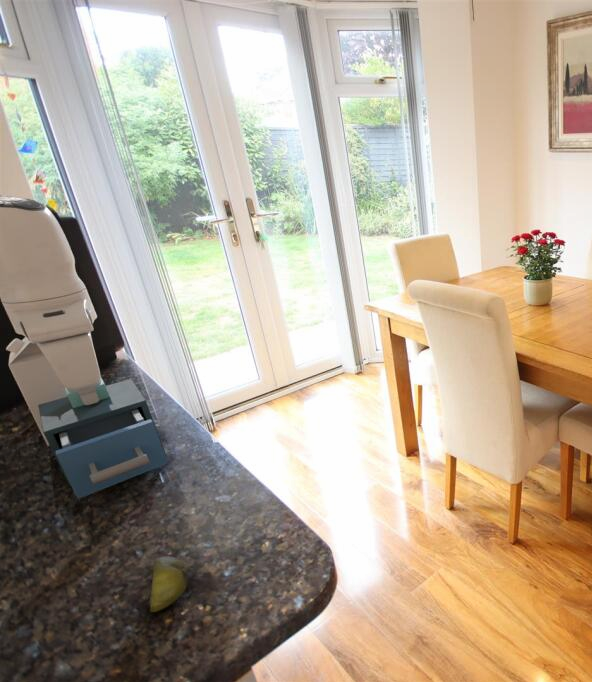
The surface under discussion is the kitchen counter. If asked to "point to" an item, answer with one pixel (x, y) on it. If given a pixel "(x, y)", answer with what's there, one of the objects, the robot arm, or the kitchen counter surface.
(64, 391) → the milk carton
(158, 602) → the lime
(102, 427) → the drawer
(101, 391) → the mint green eraser
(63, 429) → the cabinet
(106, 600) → the kitchen counter surface
